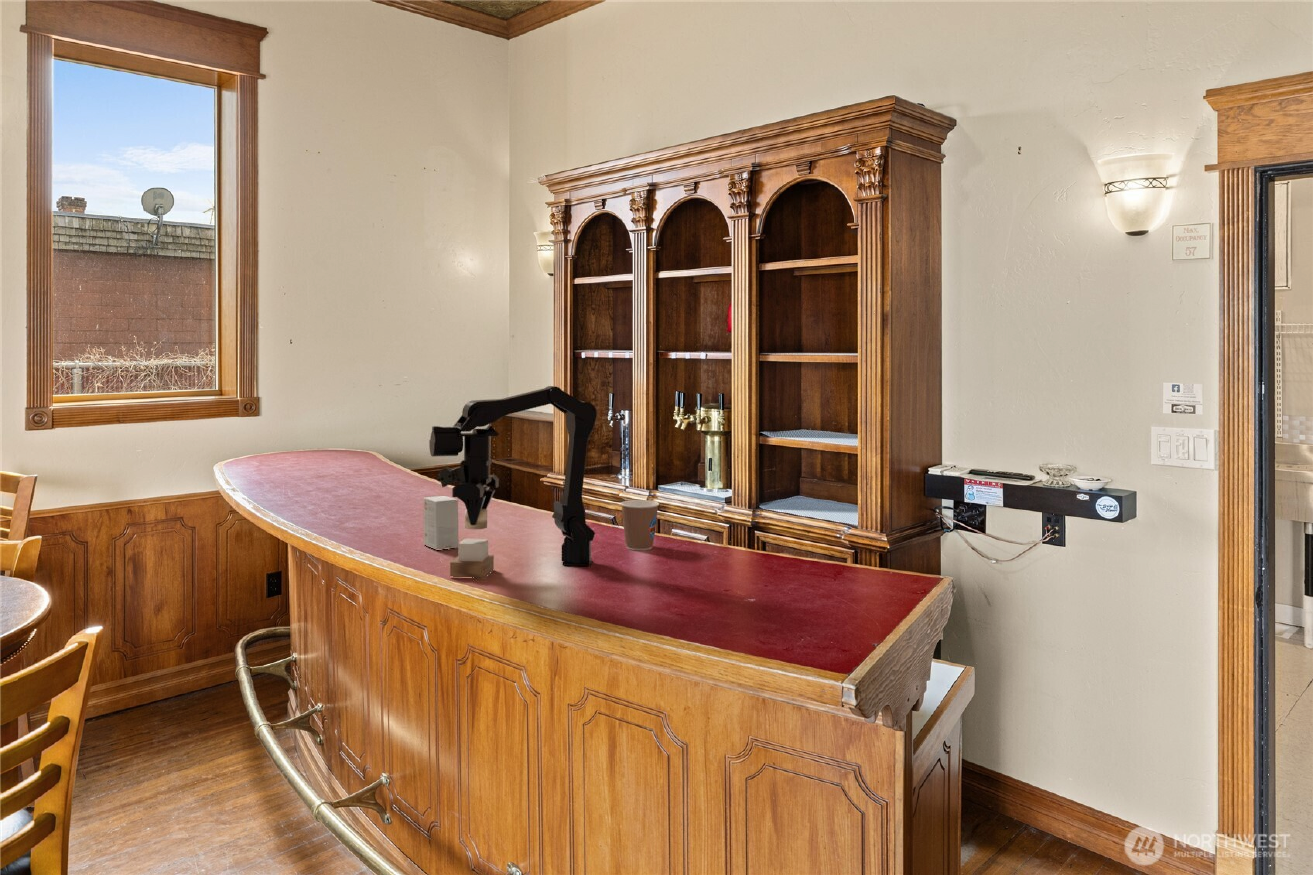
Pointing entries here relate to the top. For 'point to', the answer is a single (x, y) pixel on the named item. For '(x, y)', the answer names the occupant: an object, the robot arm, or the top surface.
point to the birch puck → (480, 522)
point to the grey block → (473, 550)
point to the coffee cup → (639, 523)
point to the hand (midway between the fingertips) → (476, 522)
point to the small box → (441, 522)
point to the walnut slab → (472, 568)
